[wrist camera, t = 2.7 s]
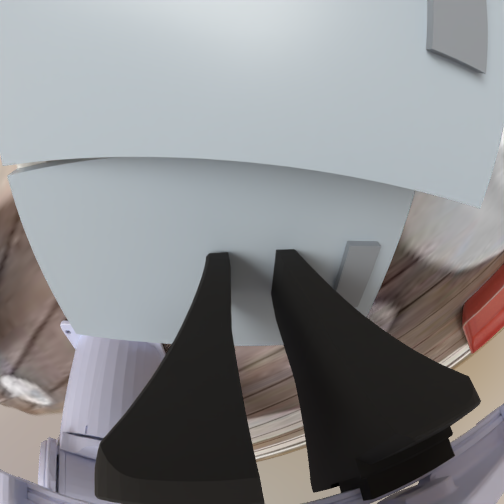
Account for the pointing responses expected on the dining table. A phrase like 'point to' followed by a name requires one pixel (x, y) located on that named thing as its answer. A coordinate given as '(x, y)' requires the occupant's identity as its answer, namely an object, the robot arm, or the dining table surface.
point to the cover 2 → (198, 237)
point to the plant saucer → (484, 312)
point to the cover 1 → (261, 85)
